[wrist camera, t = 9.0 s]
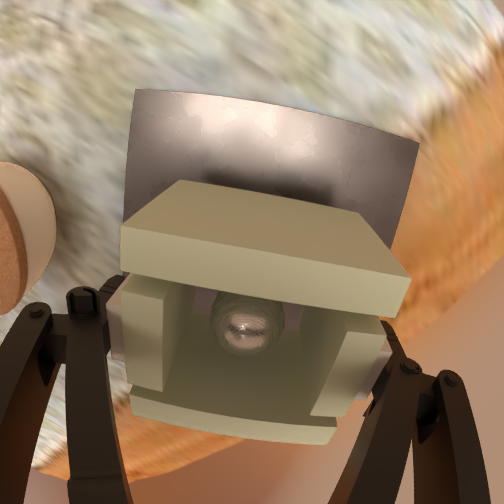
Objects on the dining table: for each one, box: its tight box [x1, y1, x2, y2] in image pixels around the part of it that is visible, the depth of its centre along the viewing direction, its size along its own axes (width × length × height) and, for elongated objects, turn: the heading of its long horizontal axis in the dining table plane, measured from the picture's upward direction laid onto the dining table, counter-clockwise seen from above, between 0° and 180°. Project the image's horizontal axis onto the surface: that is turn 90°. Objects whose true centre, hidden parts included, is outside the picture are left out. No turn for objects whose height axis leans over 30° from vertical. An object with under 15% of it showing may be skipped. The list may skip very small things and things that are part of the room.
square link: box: [120, 180, 412, 445], centre depth 14 cm, size 9×9×7 cm
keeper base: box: [123, 89, 420, 357], centre depth 17 cm, size 18×18×11 cm
